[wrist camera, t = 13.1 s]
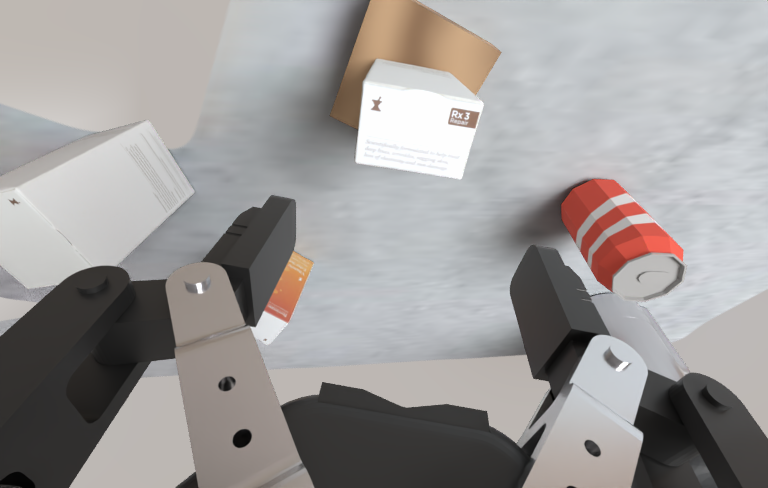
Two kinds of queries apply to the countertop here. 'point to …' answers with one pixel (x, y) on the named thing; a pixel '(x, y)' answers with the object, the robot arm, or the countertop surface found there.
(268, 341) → the small box
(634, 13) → the countertop surface
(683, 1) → the countertop surface
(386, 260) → the countertop surface
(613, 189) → the beverage can
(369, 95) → the skincare box
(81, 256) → the supplement box
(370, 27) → the tan block
